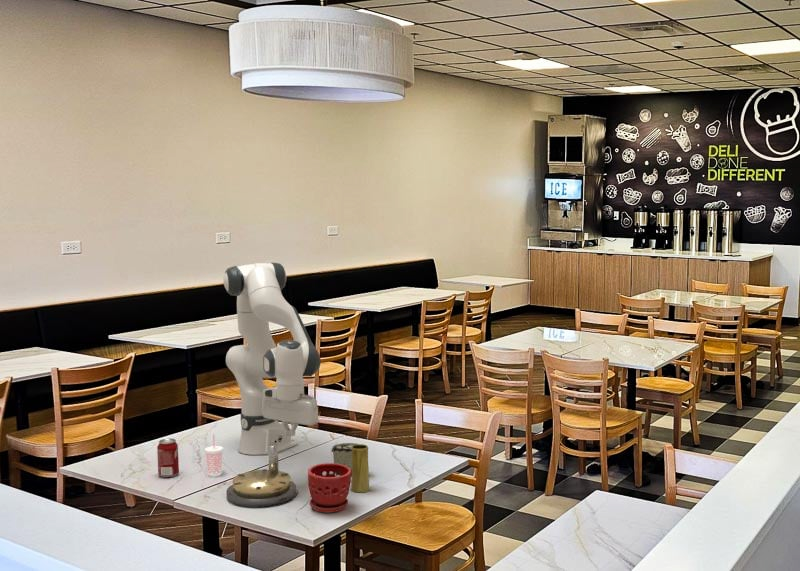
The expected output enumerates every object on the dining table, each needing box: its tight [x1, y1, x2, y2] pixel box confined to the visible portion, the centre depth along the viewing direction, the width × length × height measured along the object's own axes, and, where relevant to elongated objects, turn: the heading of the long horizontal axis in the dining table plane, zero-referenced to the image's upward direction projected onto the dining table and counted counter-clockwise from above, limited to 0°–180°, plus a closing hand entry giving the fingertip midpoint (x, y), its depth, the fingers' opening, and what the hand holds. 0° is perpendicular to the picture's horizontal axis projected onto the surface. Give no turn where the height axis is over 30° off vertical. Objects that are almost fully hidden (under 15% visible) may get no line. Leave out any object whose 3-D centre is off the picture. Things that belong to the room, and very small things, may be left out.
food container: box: [330, 442, 358, 478], centre depth 282 cm, size 12×6×10 cm, turn 71°
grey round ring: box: [225, 480, 298, 509], centre depth 263 cm, size 22×22×2 cm
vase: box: [350, 443, 371, 494], centre depth 267 cm, size 6×6×14 cm
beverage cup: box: [204, 433, 224, 477], centre depth 282 cm, size 6×6×14 cm
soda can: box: [156, 438, 180, 479], centre depth 282 cm, size 7×7×12 cm
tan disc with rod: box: [232, 444, 291, 498], centre depth 262 cm, size 18×18×12 cm
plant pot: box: [307, 462, 352, 513], centre depth 252 cm, size 13×13×12 cm
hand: (290, 435), depth 263 cm, fingers closed
